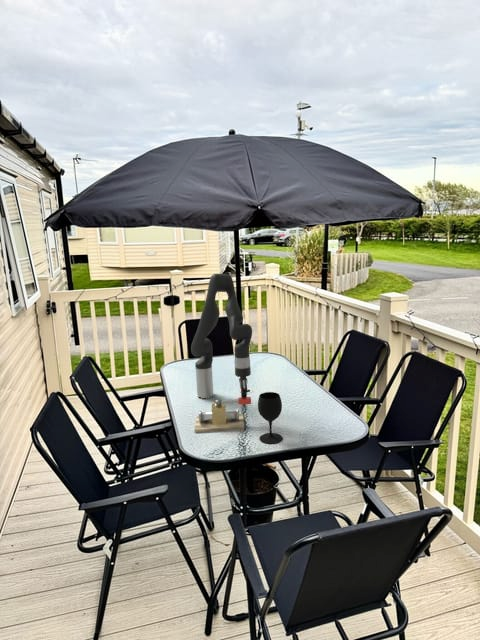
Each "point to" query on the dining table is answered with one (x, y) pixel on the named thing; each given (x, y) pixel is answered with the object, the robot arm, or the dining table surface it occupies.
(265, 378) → the dining table surface
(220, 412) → the valve
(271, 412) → the wine glass
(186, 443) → the dining table surface
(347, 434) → the dining table surface
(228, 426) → the mounting board
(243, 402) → the lever
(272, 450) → the dining table surface
